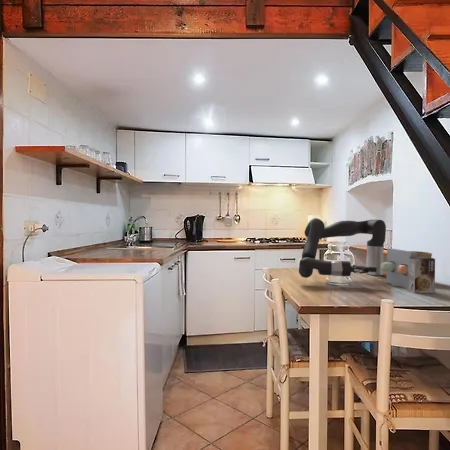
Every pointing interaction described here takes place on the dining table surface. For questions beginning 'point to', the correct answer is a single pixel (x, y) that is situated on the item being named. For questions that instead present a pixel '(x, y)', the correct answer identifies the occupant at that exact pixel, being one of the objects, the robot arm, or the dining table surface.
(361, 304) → the dining table surface
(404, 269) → the terracotta button
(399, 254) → the button panel
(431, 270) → the coffee box
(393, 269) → the sage-green button
